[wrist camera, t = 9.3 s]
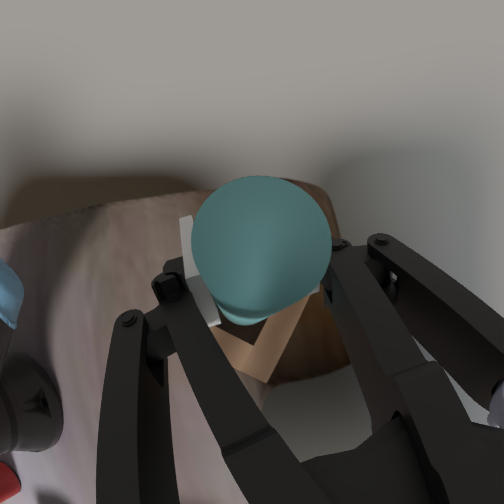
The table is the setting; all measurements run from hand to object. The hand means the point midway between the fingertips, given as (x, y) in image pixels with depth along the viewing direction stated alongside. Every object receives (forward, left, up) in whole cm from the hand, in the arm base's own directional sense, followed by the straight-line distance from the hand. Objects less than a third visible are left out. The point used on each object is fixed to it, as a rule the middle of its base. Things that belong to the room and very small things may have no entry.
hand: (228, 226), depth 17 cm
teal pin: (+3, -3, -5) cm, 7 cm away
